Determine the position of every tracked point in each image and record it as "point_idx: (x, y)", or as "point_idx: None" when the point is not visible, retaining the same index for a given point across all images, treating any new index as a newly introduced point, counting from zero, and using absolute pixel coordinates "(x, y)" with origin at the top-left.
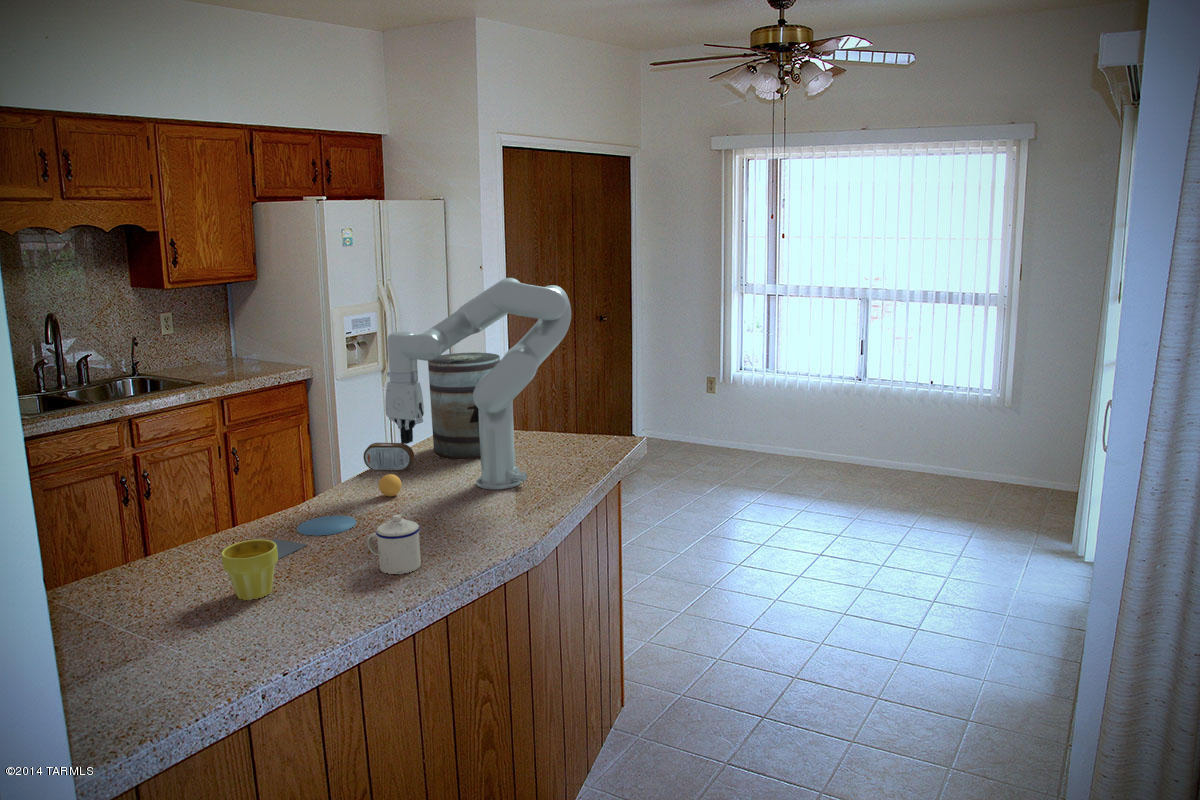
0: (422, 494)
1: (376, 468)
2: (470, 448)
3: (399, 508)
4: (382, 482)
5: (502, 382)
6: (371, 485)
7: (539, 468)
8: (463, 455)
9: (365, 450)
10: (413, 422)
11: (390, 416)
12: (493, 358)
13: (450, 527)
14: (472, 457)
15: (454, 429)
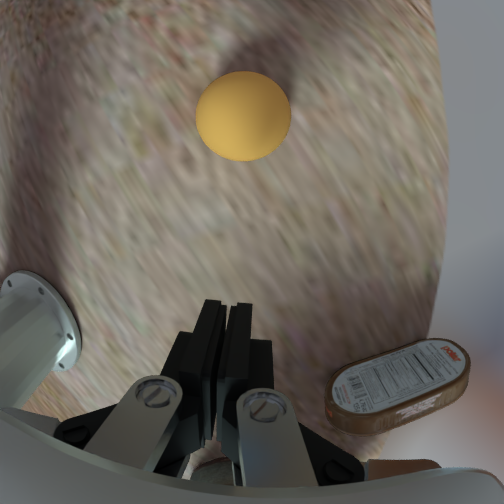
0: (146, 173)
1: (420, 344)
2: (218, 477)
3: (147, 38)
4: (252, 72)
5: None
6: (380, 215)
7: (58, 412)
8: None
9: (470, 363)
10: (59, 432)
11: (422, 492)
12: None
13: (9, 30)
14: (217, 461)
15: None
